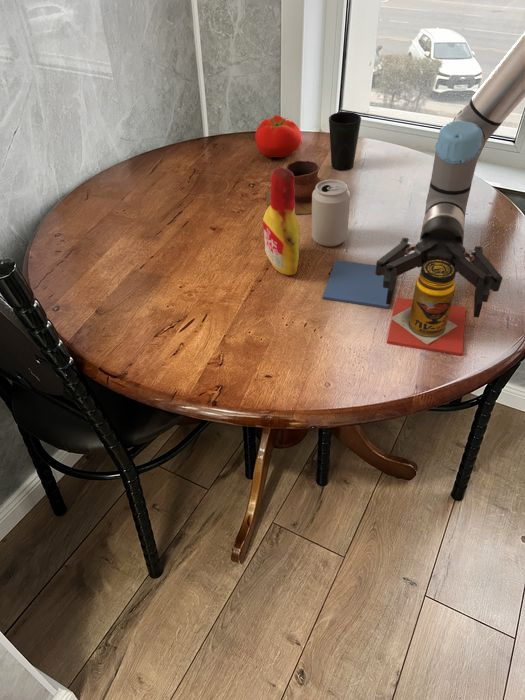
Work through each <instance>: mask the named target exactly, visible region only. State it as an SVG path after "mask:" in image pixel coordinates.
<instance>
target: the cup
mask: <svg viewBox="0 0 525 700" xmlns="http://www.w3.org/2000/svg"><path fill="white" fill-rule="evenodd" d="M361 122H362V117H361V115H360V114H358V113H355V112H352V111H339V112H335V113H332V114H330V116H329V117H328V126H329V127H328V128H329V143H330V145H329V146H330V163H331V164H330V165H331V168H332V169H334V170H335V171H339V172H340V171H341V172H344V171H348V170H351V169H353V168H354V165H355V159H356V152H357V146H358V141H359V135H360V129H361Z"/></svg>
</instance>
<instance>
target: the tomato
mask: <svg viewBox="0 0 525 700" xmlns="http://www.w3.org/2000/svg"><path fill="white" fill-rule="evenodd" d="M254 138H255V145H256V148H257V150H258V152H259V153H261V154H262V156H264V157H266V158H269V159H271V158H274V157H276V158H285V157H287V156H289V155H291V154H293V153H295V151H297V150H298V149H299V148H300V147H301V145H302V139H303V137H302V133H301V130H300V128H299V126H298V125H297V124H296V123H295V122H294V121H293V120H290V119H288V117H287V118H285V117H282V116H281V115H274V116H272V117H270V118H266V119H264V120H262V121H261V122H260V123H259V125H258V126H257V128H256V131H255V136H254Z"/></svg>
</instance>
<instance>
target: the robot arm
mask: <svg viewBox="0 0 525 700" xmlns="http://www.w3.org/2000/svg"><path fill="white" fill-rule="evenodd" d="M524 98H525V31H524V32H523V33H522V34H521V36H520V37H519V38H518V39H517V41H515V43H514V44H513V45H512V47H511V48H510V49H509V50H508V52H507V53H506V54H505V56H504V57H503V58H502V60H500V62H499V63H498V64H497V66H496V67H495V68H494V69H493V70H492V72H491V73H490V75H489V76H488V77H487V78H486V80H485V81H484V82H483V83H482V85H481V86H480V87H479V88H478V90H477V91H476V92H475V93H474V95H473V96H472V98H471V99H470V100H469V101H468V103H467V104H466V105H465V106H464V107H463V108H462V109H461V110H460V111H459V112H458V113H457V114H456V115H455V117H454V118H453V120H452V121H450V122H449V123H445V124H444V125H442V127H441V128H440V129H439V133H438V138H437V140H436V143H435V146H434V147H435V153H434V159H433V164H432V171H431V177H430V181H429V187H428V192H427V198H426V201H425V202H426V203H425V210H424V211H425V212H424V217H423V220H422V226H421V231H420V237H419V241H418V242H416V243H414V242H409V241H410V239H409V238H408V237H402V238H401V240H400V242H399V244H397V245H396V246H394V247H393V248H392V249H391V250H390V251H388V252H387V253H386V254H384V255H383V256H381V257H380V258H379V259H377V260H376V264H375V265H376V272H375V274H376V275H378V276H380V275H384V279H383V288H388V293H387V300H386V304H388V305H389V306H390V305H391V304H392V302H393V301H392V300H393V295H394V292H395V287H396V281H397V277H398V276H401V275H403V274H405V273H406V272H409V271H411V270H413V269H416V268H418V269H421V267H422V265H423V264H424V263H425V262H427V261H430V260H445V261H447V262H449V263H451V264H452V265H453V266H454V267H455V269H456V273H458V274H459V275H460V276H461V277H463V279H465V280H466V281H468V283H470V284H471V285H472V286H473V287H474V288H475V290H474V298H473V299H474V301H473V318H479V317H480V314H481V311H482V307H483V304H484V303H487V302H488V301H489V298H490V294H491V291H492V292H499V290H500V288H501V284H502V281H503V276H502V275H501V274H500V272H499V271H498V270H497V269H496V268H495V266H494V265H493V264H492V263H491V261H490V260H489V259H488V257H486V255H485V254H484V252H483V247H481V245H476V246H475V247H474V249H466V247H465V246H464V238H465V223H466V212H467V206H468V203H469V198H470V192H471V188H472V185H473V184H472V183H473V178H474V175H475V171H476V167H477V164H478V161H479V158H480V156H481V154H482V151H483V150H484V147H485V145H486V144H487V142H488V140H489V139H490V138H491V137H492V135H493V134H494V133H495V132H496V131H497V130H498V129H499V128H500V126H501V125H502V123H503V122H504V121H505V120H506V119H507V118H508V117H509V115H510V114H512V112H513V111H514V110H515V109H516V108H517V107H518V105H519V104H520V103H521V102H522V101H523V99H524Z"/></svg>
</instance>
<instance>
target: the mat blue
mask: <svg viewBox="0 0 525 700" xmlns="http://www.w3.org/2000/svg"><path fill="white" fill-rule="evenodd" d="M375 272H376V264H371V263H363V262H355V261H348V260H339V259H335V260H334V263H333V267H332V269H331V272H330V275H329V278H328V280H327V283H326V285H325V289H324V290H323V294H322V297H321V298H322V299H323V300H327V301H333V302H341V303H347V304H352V305H353V304H355V305H360V306H367V307H368V306H369V307H373V308H381V309H387V310H388V309H389V308H390V307H389V306H390V305H388V304H386V300H387V293H388V288H383V279H384V275H380V276H378V275H376V274H375Z"/></svg>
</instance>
